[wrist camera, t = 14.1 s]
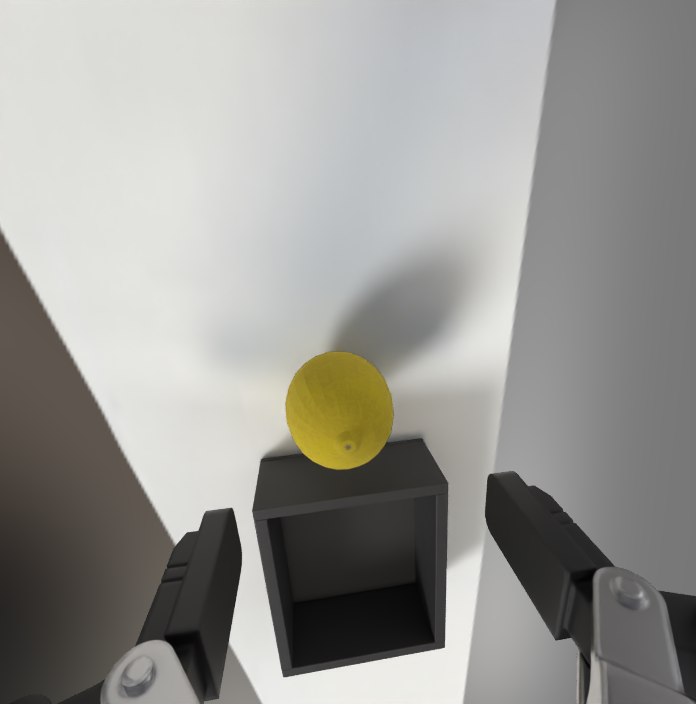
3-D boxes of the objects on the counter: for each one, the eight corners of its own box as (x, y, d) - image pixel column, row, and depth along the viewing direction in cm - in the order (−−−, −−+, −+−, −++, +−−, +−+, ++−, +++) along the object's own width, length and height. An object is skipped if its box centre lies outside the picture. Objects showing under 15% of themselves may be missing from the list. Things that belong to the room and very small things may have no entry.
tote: (260, 459, 24) (251, 510, 20) (422, 438, 25) (448, 482, 21) (285, 607, 29) (283, 678, 24) (423, 584, 30) (445, 648, 25)
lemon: (381, 338, 23) (421, 391, 15) (370, 419, 25) (401, 502, 17) (290, 331, 22) (285, 384, 15) (285, 415, 24) (278, 502, 16)
